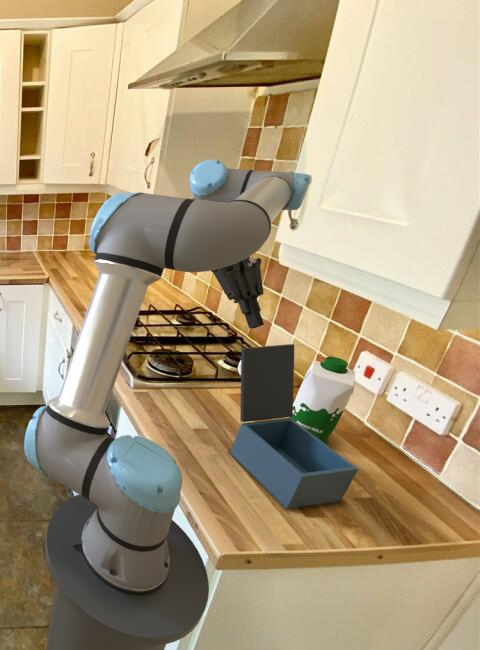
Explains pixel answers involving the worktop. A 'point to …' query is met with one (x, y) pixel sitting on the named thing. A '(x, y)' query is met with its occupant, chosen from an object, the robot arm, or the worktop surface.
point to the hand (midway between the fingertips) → (256, 326)
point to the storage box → (292, 463)
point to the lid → (267, 382)
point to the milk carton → (323, 396)
